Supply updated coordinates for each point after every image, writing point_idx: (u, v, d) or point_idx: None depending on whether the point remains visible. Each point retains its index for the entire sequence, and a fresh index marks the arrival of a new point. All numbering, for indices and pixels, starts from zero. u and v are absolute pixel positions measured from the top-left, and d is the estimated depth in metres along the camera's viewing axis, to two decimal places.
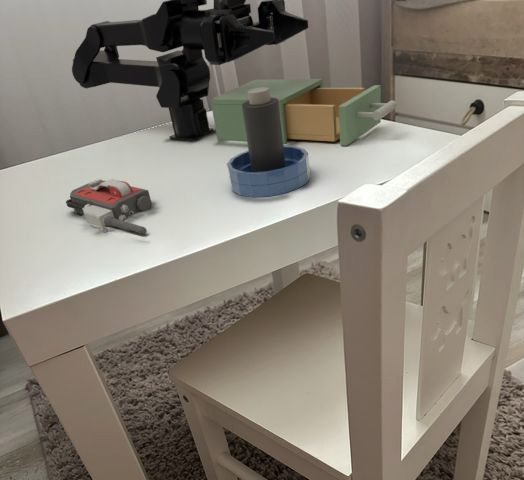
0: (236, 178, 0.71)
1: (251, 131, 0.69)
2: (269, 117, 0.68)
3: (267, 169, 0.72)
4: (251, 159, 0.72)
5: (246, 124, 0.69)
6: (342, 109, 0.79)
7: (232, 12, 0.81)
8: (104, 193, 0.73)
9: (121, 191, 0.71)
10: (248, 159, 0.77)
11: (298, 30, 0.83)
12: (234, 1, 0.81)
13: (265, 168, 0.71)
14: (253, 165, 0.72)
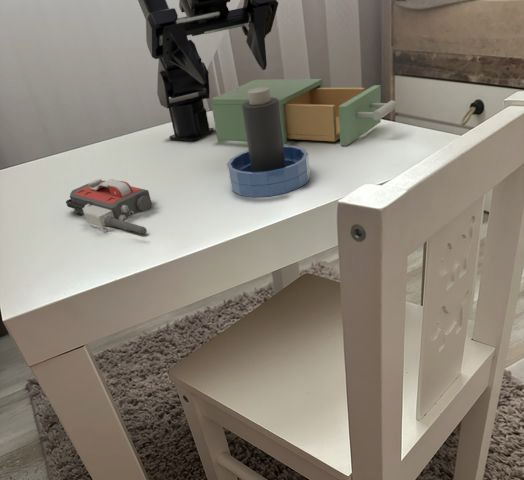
0: (236, 178, 0.71)
1: (251, 131, 0.69)
2: (269, 117, 0.68)
3: (267, 169, 0.72)
4: (251, 159, 0.72)
5: (246, 124, 0.69)
6: (342, 109, 0.79)
7: (199, 3, 0.71)
8: (104, 193, 0.73)
9: (121, 191, 0.71)
10: (248, 159, 0.77)
11: (258, 62, 0.75)
12: None
13: (265, 168, 0.71)
14: (253, 165, 0.72)
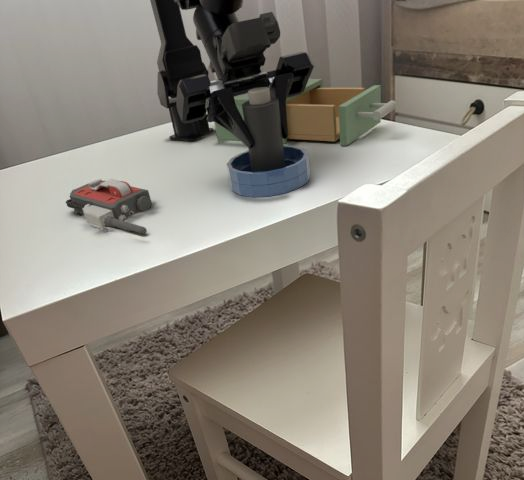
0: (236, 178, 0.71)
1: (251, 131, 0.69)
2: (269, 117, 0.68)
3: (267, 169, 0.72)
4: (251, 159, 0.72)
5: (246, 124, 0.69)
6: (342, 109, 0.79)
7: (232, 69, 0.68)
8: (104, 193, 0.73)
9: (121, 191, 0.71)
10: (248, 159, 0.77)
11: None
12: (242, 57, 0.68)
13: (265, 168, 0.71)
14: (253, 165, 0.72)
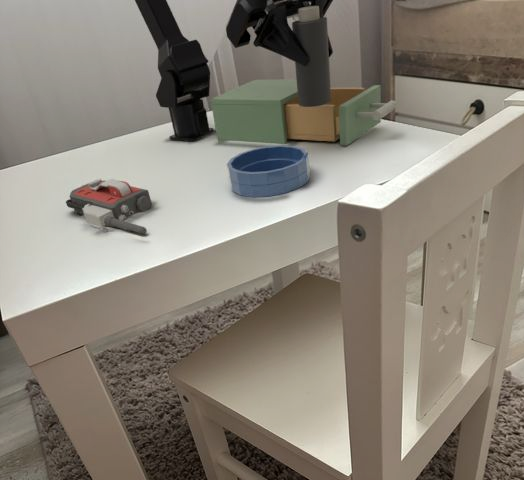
0: (236, 178, 0.71)
1: (306, 48, 0.72)
2: (323, 32, 0.72)
3: (320, 86, 0.75)
4: (302, 79, 0.75)
5: (300, 42, 0.72)
6: (342, 109, 0.79)
7: None
8: (104, 193, 0.73)
9: (121, 191, 0.71)
10: (248, 159, 0.77)
11: None
12: None
13: (318, 85, 0.75)
14: (304, 84, 0.75)
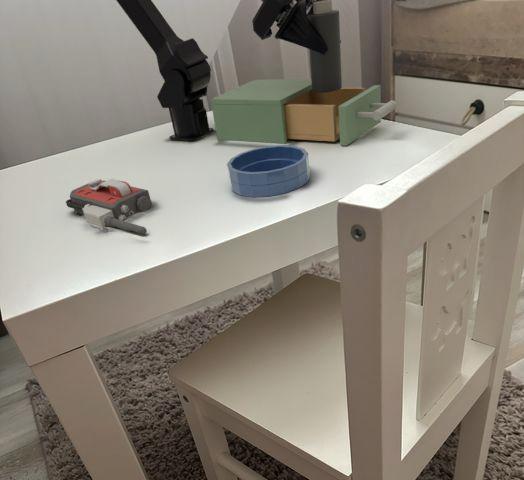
0: (236, 178, 0.71)
1: (324, 37, 0.79)
2: (338, 23, 0.79)
3: (336, 73, 0.82)
4: (320, 66, 0.82)
5: None
6: (342, 109, 0.79)
7: None
8: (104, 193, 0.73)
9: (121, 191, 0.71)
10: (248, 159, 0.77)
11: None
12: None
13: (334, 72, 0.82)
14: (322, 71, 0.82)
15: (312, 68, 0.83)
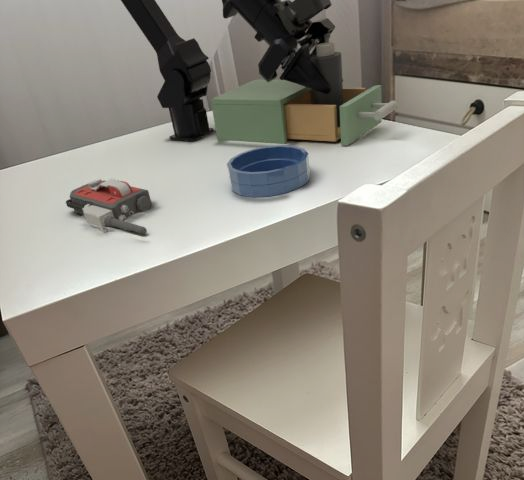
0: (236, 178, 0.71)
1: (327, 78, 0.82)
2: (340, 64, 0.82)
3: (338, 111, 0.86)
4: None
5: None
6: (343, 109, 0.79)
7: (298, 30, 0.81)
8: (104, 193, 0.73)
9: (121, 191, 0.71)
10: (248, 159, 0.77)
11: None
12: (304, 19, 0.80)
13: (337, 110, 0.85)
14: None
15: None
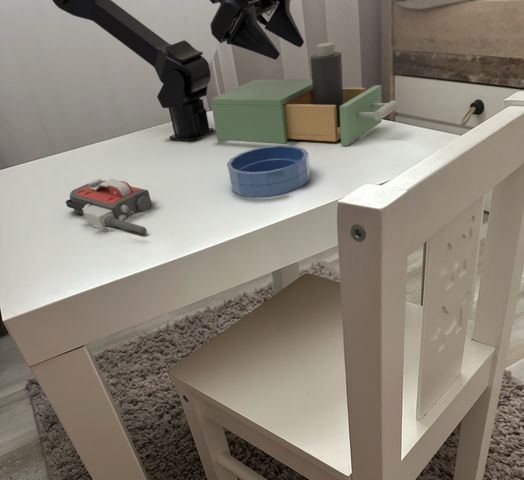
0: (236, 178, 0.71)
1: (327, 78, 0.82)
2: (340, 64, 0.82)
3: (338, 111, 0.86)
4: None
5: (321, 74, 0.82)
6: (343, 109, 0.79)
7: None
8: (104, 193, 0.73)
9: (121, 191, 0.71)
10: (248, 159, 0.77)
11: (292, 41, 0.88)
12: None
13: (337, 110, 0.85)
14: None
15: None
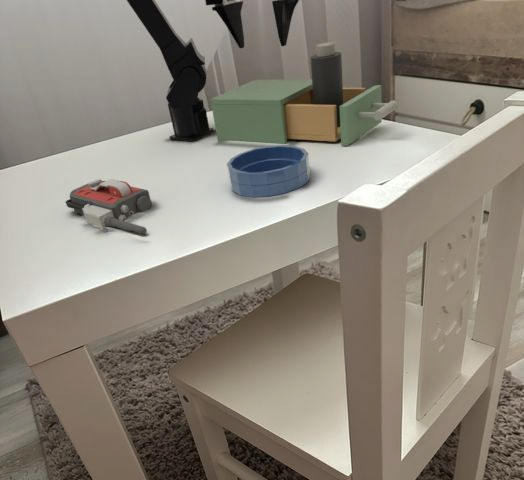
0: (236, 178, 0.71)
1: (327, 78, 0.82)
2: (340, 64, 0.82)
3: (338, 111, 0.86)
4: None
5: (321, 74, 0.82)
6: (343, 109, 0.79)
7: None
8: (104, 193, 0.73)
9: (121, 191, 0.71)
10: (248, 159, 0.77)
11: (238, 38, 0.96)
12: None
13: (337, 110, 0.85)
14: None
15: None
